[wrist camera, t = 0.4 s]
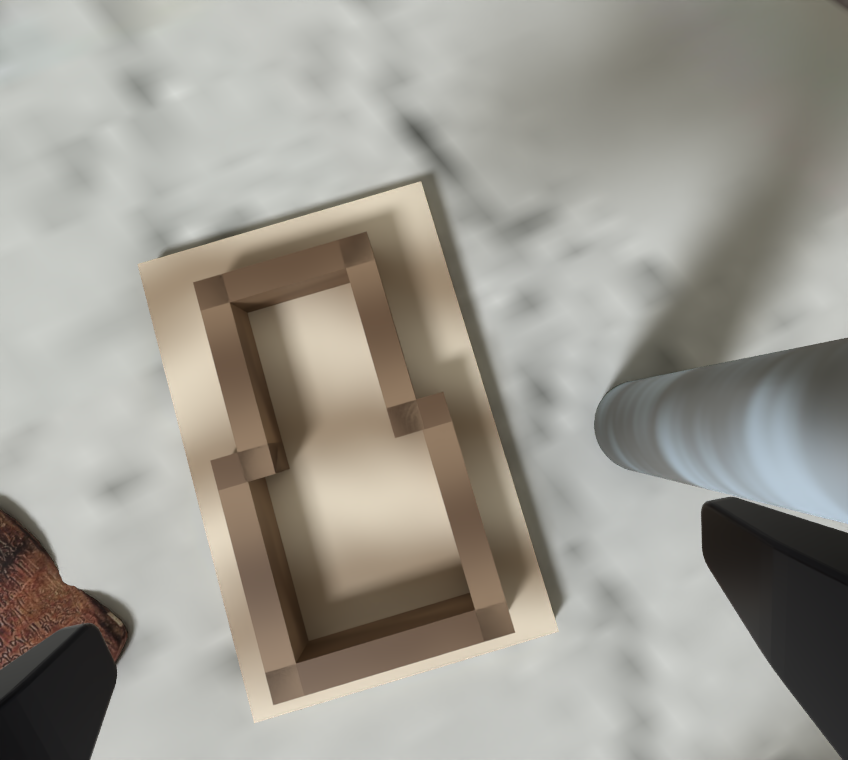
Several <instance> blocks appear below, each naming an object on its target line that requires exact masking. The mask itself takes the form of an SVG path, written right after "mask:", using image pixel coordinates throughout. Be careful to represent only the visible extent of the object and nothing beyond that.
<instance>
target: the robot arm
mask: <svg viewBox="0 0 848 760" xmlns="http://www.w3.org/2000/svg"><path fill="white" fill-rule="evenodd" d="M701 525H702V552H703V556H704V559H705V562H706V564H707V566H708V568H709V569H710V571H711V572H712V574H713V576H714V577H715V579H716V580H717V582H718V584H719V585H720V587H721V588H722V590H723V592H724V593H725V595H726V596H727V598H728V599H729V601H730V603H731V604H732V606H733V607H734V609H735V611H736V612H737V614H738V615H739V617H740V619H741V620H742V622H743V623H744V625H745V626H746V628H747V630H748V631H749V633H750V634H751V636H752V638H753V639H754V641H755V642H756V644H757V646H758V647H759V649H760V650H761V652H762V653H763V655H764V656H765V658H766V659H767V661H768V662H769V664H770V665H771V666H772V668H773V669H774V671H775V672H776V673H777V675H778V676H779V677H780V679H781V680H782V681H783V683H784V684H785V685H786V687H787V688H788V689H789V691H790V692H791V693H792V694H793V696H794V697H795V698H796V700H797V701H798V702H799V704H800V705H801V706H802V707H803V709H804V710H805V711H806V713H807V714H808V715H809V717H810V718H811V719H812V720H813V722H814V723H815V724H816V726H817V727H818V728H819V730H820V731H821V732H822V733H823V735H824V736H825V737H826V739H827V740H828V741H829V743H830V744H831V745H832V746H833V748H834V749H835V750H836V752H837V753H838V754H839V756H840V757H841V758H842V759H843V760H848V533H846V532H843V531H840V530H837V529H834V528H830V527H827V526H824V525H821V524H818V523H815V522H811V521H808V520H805V519H802V518H799V517H796V516H793V515H789V514H786V513H783V512H780V511H777V510H774V509H770V508H767V507H764V506H761V505H758V504H755V503H752V502H748V501H745V500H742V499H739V498H736V497H726V498H721V499H716V500H711V501H707V502H705V503H704V504H703V506H702V510H701ZM116 679H117V668H116V664H115V661H114V659H113V657H112V655H111V653H110V651H109V649H108V646H107V644H106V642H105V640H104V638H103V636H102V634H101V632H100V630H99V628H98V627H97V626H96V625H94V624H92V623H84V624H79V625H74V626H69V627H64V628H62V629H60V630H58V631H56V632H55V633H53V634H52V635H51V636H49V637H48V638H46V639H45V640H43V641H42V642H40V643H39V644H37V645H36V646H34V647H33V648H31V649H30V650H28V651H27V652H26V653H24V654H23V655H21V656H20V657H18V658H17V659H15V660H14V661H12V662H11V663H9V664H8V665H6V666H5V667H3V668H2V669H1V670H0V760H90V759H91V756H92V753H93V750H94V747H95V744H96V741H97V738H98V735H99V732H100V729H101V726H102V723H103V720H104V717H105V714H106V711H107V708H108V705H109V702H110V699H111V696H112V693H113V690H114V687H115V684H116Z"/></svg>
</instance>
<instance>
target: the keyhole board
mask: <svg viewBox="0 0 848 760" xmlns="http://www.w3.org/2000/svg"><path fill="white" fill-rule="evenodd" d="M138 267H139V271H140V275H141V279H142V283H143V287H144V291H145V295H146V299H147V303H148V307H149V311H150V315H151V319H152V322H153V326H154V330H155V334H156V338H157V342H158V346H159V350H160V354H161V358H162V362H163V366H164V370H165V374H166V378H167V382H168V385H169V389H170V393H171V397H172V401H173V405H174V409H175V413H176V417H177V421H178V425H179V429H180V433H181V437H182V441H183V444H184V448H185V452H186V456H187V460H188V464H189V468H190V472H191V476H192V480H193V484H194V488H195V492H196V496H197V500H198V504H199V507H200V511H201V515H202V519H203V523H204V527H205V531H206V535H207V539H208V543H209V547H210V551H211V555H212V559H213V563H214V566H215V570H216V574H217V578H218V582H219V586H220V590H221V594H222V598H223V602H224V606H225V610H226V614H227V618H228V622H229V626H230V629H231V633H232V637H233V641H234V645H235V649H236V653H237V657H238V661H239V665H240V669H241V673H242V677H243V681H244V685H245V688H246V692H247V696H248V700H249V704H250V708H251V712H252V716H253V720H254V723H257V722H260V721H263V720H266V719H270V718H273V717H276V716H280V715H283V714H286V713H290V712H293V711H296V710H300V709H303V708H306V707H310V706H313V705H316V704H320V703H323V702H326V701H330V700H333V699H336V698H340V697H343V696H346V695H350V694H353V693H356V692H360V691H363V690H366V689H370V688H373V687H376V686H380V685H383V684H386V683H390V682H393V681H396V680H399V679H403V678H406V677H409V676H413V675H416V674H419V673H423V672H426V671H429V670H433V669H436V668H439V667H443V666H446V665H449V664H453V663H456V662H459V661H463V660H466V659H469V658H473V657H476V656H479V655H483V654H486V653H489V652H493V651H496V650H499V649H503V648H506V647H509V646H513V645H516V644H519V643H522V642H526V641H529V640H532V639H536V638H539V637H542V636H546V635H549V634H552V633H556V632H559V630H558V627H557V624H556V620H555V617H554V614H553V611H552V607H551V604H550V601H549V597H548V594H547V591H546V588H545V584H544V581H543V578H542V575H541V571H540V568H539V565H538V562H537V558H536V555H535V552H534V549H533V545H532V542H531V539H530V535H529V532H528V529H527V526H526V522H525V519H524V516H523V513H522V509H521V506H520V503H519V500H518V496H517V493H516V490H515V486H514V483H513V480H512V477H511V473H510V470H509V467H508V464H507V460H506V457H505V454H504V451H503V447H502V444H501V441H500V438H499V434H498V431H497V428H496V424H495V421H494V418H493V415H492V411H491V408H490V405H489V402H488V398H487V395H486V392H485V389H484V385H483V382H482V379H481V375H480V372H479V369H478V366H477V362H476V359H475V356H474V353H473V349H472V346H471V343H470V340H469V336H468V333H467V330H466V327H465V323H464V320H463V317H462V313H461V310H460V307H459V304H458V300H457V297H456V294H455V291H454V287H453V284H452V281H451V278H450V274H449V271H448V268H447V264H446V261H445V258H444V255H443V251H442V248H441V245H440V242H439V238H438V235H437V232H436V229H435V225H434V222H433V219H432V216H431V212H430V209H429V206H428V202H427V199H426V196H425V193H424V189H423V186H422V183H421V181H420V182H416V183H413V184H410V185H406V186H403V187H399V188H396V189H393V190H389V191H386V192H382V193H379V194H375V195H372V196H369V197H365V198H362V199H358V200H355V201H352V202H348V203H345V204H341V205H338V206H334V207H331V208H328V209H324V210H321V211H317V212H314V213H311V214H307V215H304V216H300V217H297V218H294V219H290V220H287V221H283V222H280V223H276V224H273V225H270V226H266V227H263V228H259V229H256V230H253V231H249V232H246V233H242V234H239V235H235V236H232V237H229V238H225V239H222V240H218V241H215V242H212V243H208V244H205V245H201V246H198V247H194V248H191V249H188V250H184V251H181V252H177V253H174V254H171V255H167V256H164V257H160V258H157V259H153V260H150V261H147V262H143V263H140V264H138Z"/></svg>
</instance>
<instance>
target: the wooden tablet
mask: <svg viewBox="0 0 848 760" xmlns="http://www.w3.org/2000/svg"><path fill="white" fill-rule="evenodd" d="M84 623H92V624H94V625H96V626H97V627H98V628H99V630H100V632H101V634H102V636H103V638H104V640H105V642H106V644H107V646H108V649H109V651H110V653H111V655H112V657H113V659H114V661H115V662H116V661H117V658H118V657H119V655H120V653H121V651H122V648H123V646H124V645H125V642H126V640H127V631H126V629H125V626H124V625H123V623H122V621H121V619H119V618H117V617H116V616H115V615H113V614H112V612H111V611H110V610H109V609H107V608H106V607H105V606H103V605H102V604H100V603H99V602H98V601H97V600H95V599H94V598H93V597H91V596H89V595H87V594H86V593H85V592H83V591H82V590H78V589H77V588H76V587H75V586H70V585H67V584H66V583H64V582H63V581H62V578H61V576H60V575H59V571H58V569H57V567H56V566H55V565H54V562H53V560H52V559H51V558H50V556H49V554H48V553H47V552H46V550H45V549H44V548H43V547H42V546H41V544H40V542H39V541H38V540H37V539H35V538H34V536H33V535H32V534H31V533H30V532H28V531H27V529H25V528H23V527H22V525H21V524H20V523H19V522H18V521H16V520H15V519H14V518H11V517H10V516H9V515H8V514H6V513H4V512H3V511H2V510H0V670H1V669H2V668H3V667H5V666H6V665H8V664H9V663H11V662H12V661H14V660H15V659H17V658H18V657H20V656H21V655H23V654H24V653H26V652H27V651H28V650H30V649H31V648H33V647H34V646H36V645H37V644H39V643H40V642H42V641H43V640H45V639H46V638H48V637H49V636H51V635H52V634H53V633H55V632H56V631H58V630H60V629H62V628H64V627H69V626H74V625H79V624H84Z"/></svg>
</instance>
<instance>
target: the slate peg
mask: <svg viewBox="0 0 848 760" xmlns="http://www.w3.org/2000/svg"><path fill="white" fill-rule="evenodd" d="M594 429H595V435H596V439H597V441H598V444H599V446H600V448H601V449H602V451H603V452H604V454H605V455H606V456H607V457H608V458H609V459H610V460H611V461H613V462H614V463H615V464H617V465H619V466H621V467H623V468H625V469H628V470H632V471H636V472H640V473H644V474H648V475H652V476H656V477H660V478H664V479H668V480H672V481H676V482H680V483H684V484H688V485H692V486H696V487H701V488H705V489H709V490H713V491H717V492H721V493H725V494H729V495H733V496H737V497H741V498H745V499H749V500H753V501H757V502H761V503H765V504H769V505H774V506H778V507H782V508H786V509H790V510H794V511H798V512H802V513H806V514H810V515H814V516H818V517H822V518H826V519H830V520H834V521H838V522H842V523H847V524H848V338H844V339H839V340H834V341H829V342H824V343H819V344H814V345H809V346H804V347H799V348H794V349H789V350H784V351H779V352H774V353H769V354H764V355H759V356H754V357H749V358H744V359H739V360H734V361H729V362H724V363H719V364H714V365H709V366H705V367H700V368H695V369H690V370H685V371H680V372H675V373H670V374H665V375H660V376H655V377H650V378H645V379H640V380H635V381H630V382H626V383H623V384H620V385H618V386H616V387H615V388H613V389H612V390H610V391H609V392H608V393H607V394H606V395H605V396H604V398H603V399H602V400H601V402H600V404H599V406H598V408H597V411H596V414H595V420H594Z"/></svg>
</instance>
